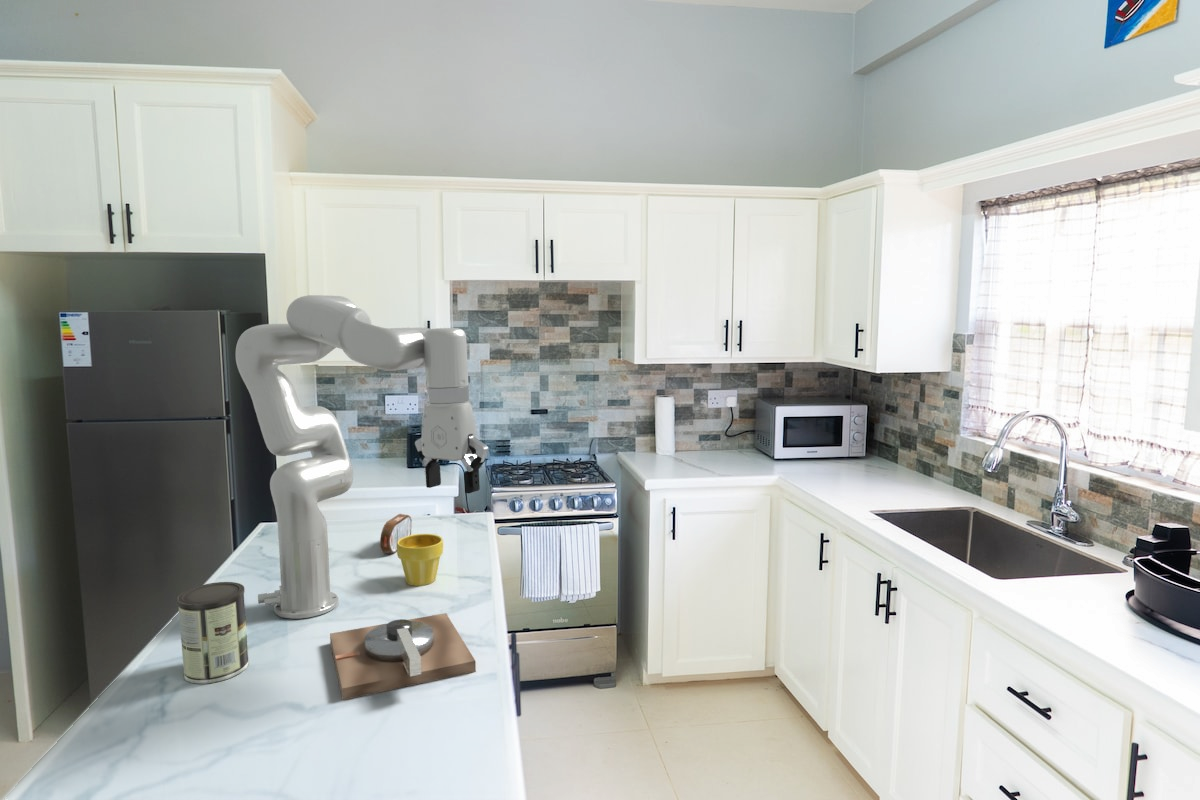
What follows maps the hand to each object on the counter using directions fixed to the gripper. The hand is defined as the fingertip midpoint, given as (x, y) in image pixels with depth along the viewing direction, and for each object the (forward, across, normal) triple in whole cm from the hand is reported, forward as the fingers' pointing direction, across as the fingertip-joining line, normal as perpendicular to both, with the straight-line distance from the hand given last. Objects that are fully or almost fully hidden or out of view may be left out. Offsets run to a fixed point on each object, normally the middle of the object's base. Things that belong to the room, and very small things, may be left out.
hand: (452, 489), depth 133 cm
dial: (+28, -2, -12) cm, 30 cm away
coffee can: (+29, -30, -30) cm, 51 cm away
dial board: (+30, -6, -10) cm, 32 cm away
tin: (+29, -53, +32) cm, 68 cm away
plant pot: (+29, -30, +19) cm, 46 cm away
